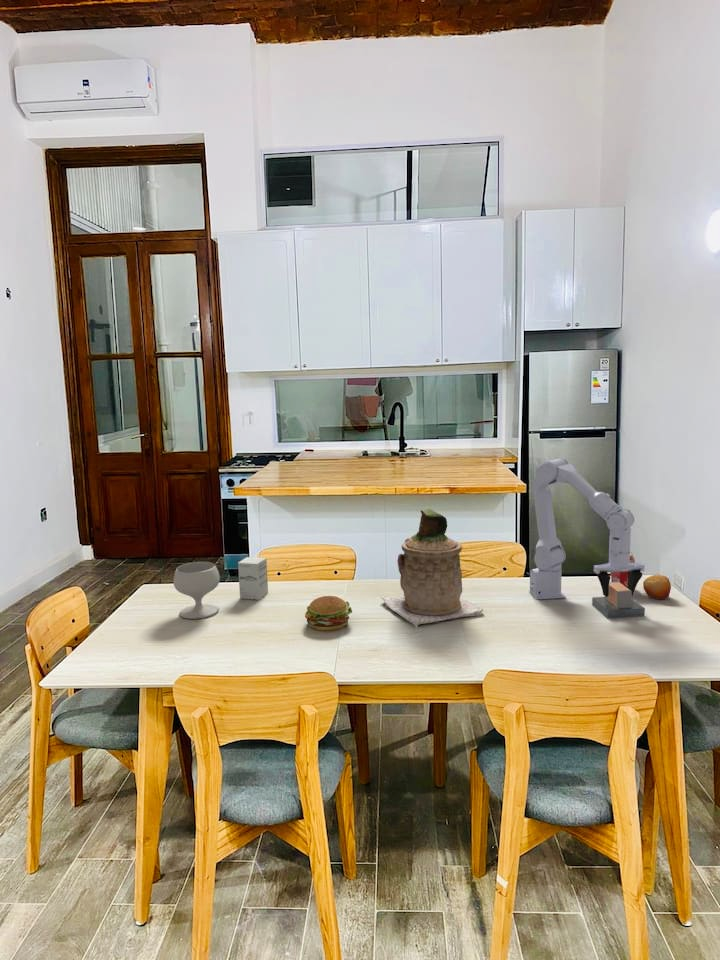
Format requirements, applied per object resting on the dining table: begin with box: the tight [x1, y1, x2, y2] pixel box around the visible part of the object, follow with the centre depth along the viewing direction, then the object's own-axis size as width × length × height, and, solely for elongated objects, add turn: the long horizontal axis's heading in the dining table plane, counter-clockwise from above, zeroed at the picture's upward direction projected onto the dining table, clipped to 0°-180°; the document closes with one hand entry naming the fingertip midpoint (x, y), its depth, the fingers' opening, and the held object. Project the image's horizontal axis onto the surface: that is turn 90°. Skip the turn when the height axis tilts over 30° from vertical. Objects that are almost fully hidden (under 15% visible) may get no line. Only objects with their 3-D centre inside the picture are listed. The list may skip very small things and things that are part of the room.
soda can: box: [610, 551, 636, 588], centre depth 214 cm, size 7×7×12 cm
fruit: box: [642, 574, 672, 601], centre depth 206 cm, size 8×8×8 cm
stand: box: [591, 596, 646, 619], centre depth 196 cm, size 11×11×2 cm
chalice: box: [173, 561, 221, 620], centre depth 205 cm, size 14×14×15 cm
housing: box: [604, 581, 633, 608], centre depth 195 cm, size 9×4×5 cm, turn 3°
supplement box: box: [237, 556, 269, 601], centre depth 219 cm, size 7×7×13 cm
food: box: [304, 595, 353, 631], centre depth 193 cm, size 14×14×8 cm
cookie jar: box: [380, 508, 484, 628], centre depth 201 cm, size 25×25×32 cm
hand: (618, 594), depth 195 cm, fingers open, 7 cm apart
